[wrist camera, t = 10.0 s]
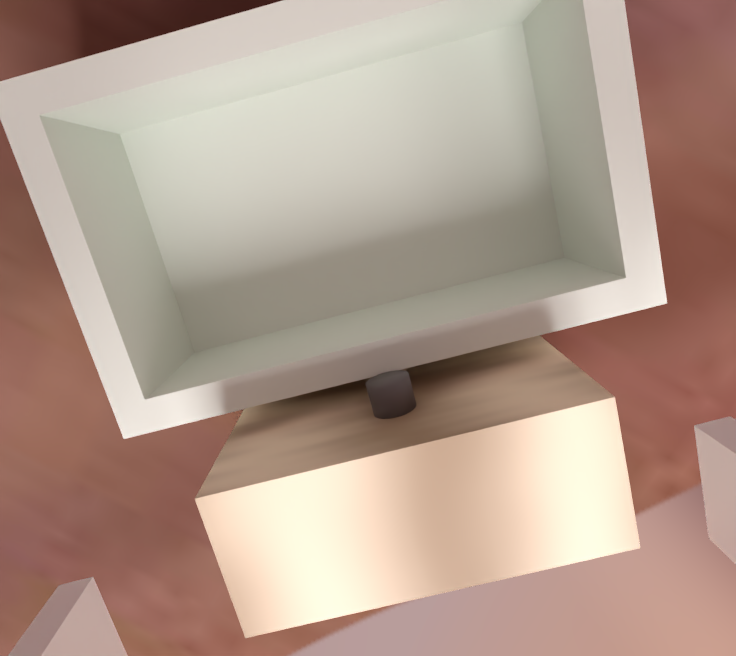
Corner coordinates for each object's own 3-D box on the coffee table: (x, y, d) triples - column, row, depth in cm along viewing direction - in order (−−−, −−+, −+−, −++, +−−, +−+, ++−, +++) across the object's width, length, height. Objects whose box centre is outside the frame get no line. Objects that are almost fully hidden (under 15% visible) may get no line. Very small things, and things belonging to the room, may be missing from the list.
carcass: (235, 518, 24) (194, 622, 18) (94, 115, 20) (-14, 85, 15) (612, 427, 23) (695, 506, 17) (537, -9, 20) (610, -94, 14)
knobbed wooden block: (290, 469, 23) (245, 637, 14) (254, 356, 22) (182, 464, 13) (533, 410, 23) (640, 548, 14) (509, 292, 22) (608, 359, 13)
